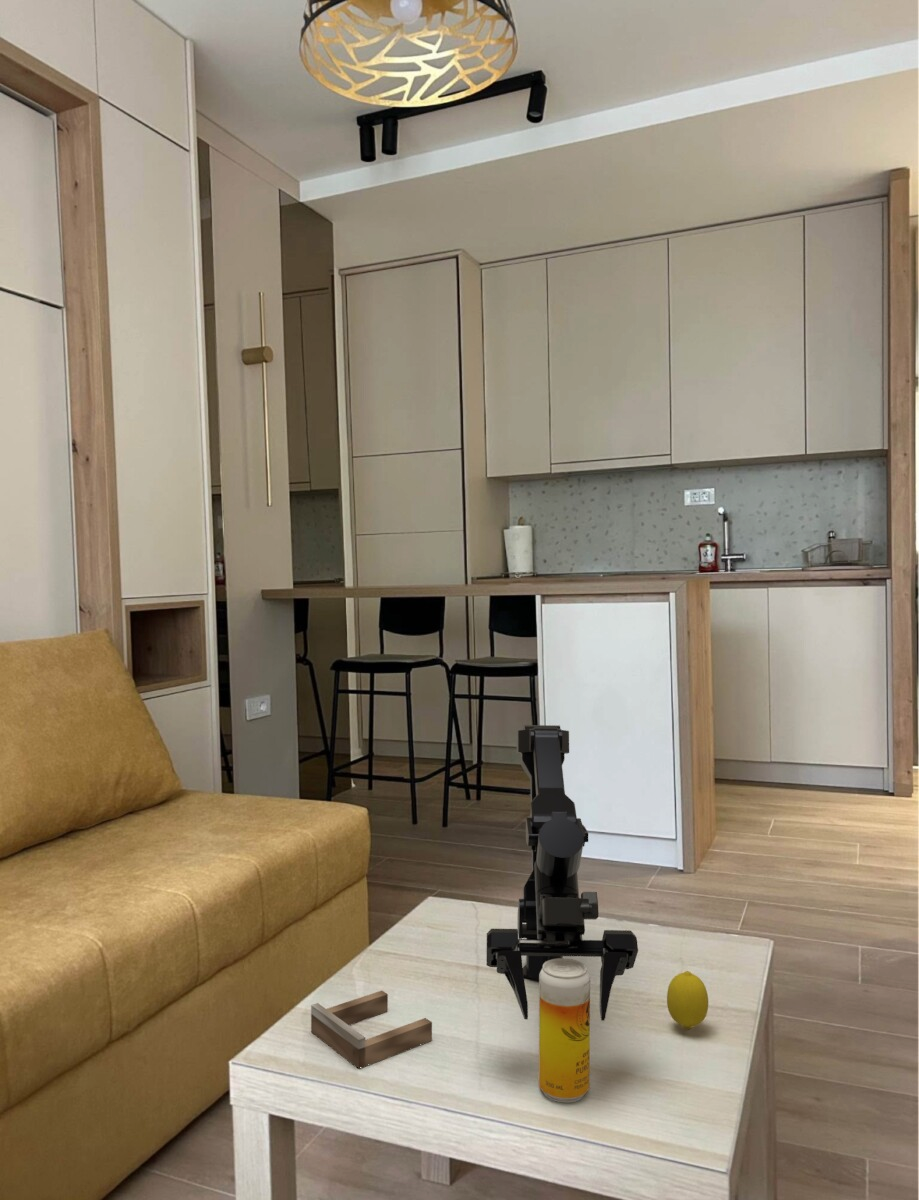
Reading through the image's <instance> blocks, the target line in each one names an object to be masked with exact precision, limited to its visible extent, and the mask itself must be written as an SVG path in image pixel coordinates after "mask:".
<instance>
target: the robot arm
mask: <svg viewBox="0 0 919 1200" xmlns="http://www.w3.org/2000/svg"><path fill="white" fill-rule="evenodd" d="M516 753H517V754H520V765H521V767H522V769H523V771H524V772H525V774H526V775H527V777H528V778H529V779H528V780H529V781H530V814H529V815H530V817H525V844H526V845H527V847H530V850H531V873H530V875H529V876H528V878H527V881H526V882H525V884H524V886H523V888H522V898H518V906H517V928H490V929H489V931H488V932H487V933H486V966H487V967H489V968H496V973H497V974H501V975H502V974H503V975H505V978H506V979H507V981H508V983H509V985H510V987H511V989H512V991H513V992H514V995H515V998H516V1000H517V1003H518V1006H519V1009H520V1011H521V1013H522V1014H521V1015H522V1017H523V1020H528V1019H529V1013H528V1012H529V1009H528V1008H529V1006H528V1005H529V1004H528V1003H529V1002H528V997H527V996H528V995H527V989H526V983H525V978H526V979H531V980H535V981H539V974H540V972H541V970H542V968H543V964H544V963H545V962H546V961H548V960H552V959H558V958H564V957H587V958H588V957H590V958H591V957H593V958H594V957H597V958H598V957H599V958H600V962H601V966H600V970H599V971H600V972H599V1016H600V1021H601V1022H602V1021H603V1022H604V1021H605V1020H606V1015H607V1010H608V1005H609V1000H610V995H611V992H612V991H611V990H612V987H613V984H614V981H615V978H616V976H623V975H625V974H624V973H625V970H630V969H632V968H634V966H635V962H636V959H637V956H638V953H639V948H638V945H639V944H638V940H637V938H638V937H637V936H636V934H635V933H634V932H633V931H632V930H629V929H628V930H627V929H625V930H624V929H621V930H620V929H618V930H617V929H614V930H611V929H604V930H603V934H602V939H601V940H599V939H597V940H594V939H583V935H585V932H586V928H585V927H586V925H585V920H590V921H591V920H593V921H594V920H597V919H598V918H599V900H598V899H599V898H598V893H597V891H583V892H582V893H580V892H579V890H580V889H579V879H578V872H579V869H580V865H581V860H582V853H583V849H584V847H585V846H586V845H585V844H586V843H589V832H588V830H587V828H586V826H584V824H583V822H582V819H581V818H580V817H577V811H576V804H575V802H574V801H573V800H572V799H571V798H570V797H569V796H568V795H567V794H566V791H565V782H564V771H563V764H564V761H565V754H570V731H569V730H567V729H566V730H564V729H561V725H560V724H559V725H556V724H555V725H549V724H548V725H545V724H544V725H543V724H542V725H541V724H540V725H539V724H536V725H535V724H533V725H532V724H531V725H529V724H528V725H527V724H525V725H523V729H519V730H517V731H516ZM523 956H525V960H526V961H525V965H524V966H523V959H522V957H523Z"/></svg>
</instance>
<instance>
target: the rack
mask: <svg viewBox="0 0 919 1200" xmlns="http://www.w3.org/2000/svg"><path fill="white" fill-rule="evenodd" d="M388 997H389V994H388V993H386V992H385V991H384V990H379V991H376V992H373V993H370V994H367V995H364V996H361V997H358V998H355V999H352V1000H349V1001H347V1002H343V1003H340V1004H337V1005H334V1006H331V1007H328V1008H326V1007H324V1006H323V1005H321V1004H320V1003H319V1002H317V1003H314V1004H311V1005H310V1006H311V1007H310V1008H311V1009H310V1022H311V1023H310V1032H311V1033H312V1034H313V1035H314V1036H316V1037H317V1039H320V1040H321V1041H322V1042H323V1043H325V1044H326V1045H327V1046H329V1047H330V1048H331V1049H332V1050H333V1051H335V1052H336V1053H337V1054H339V1055H340V1056H341V1057H343V1058H344V1059H345V1060H346V1059H347V1062H349V1061H350V1062H351V1063H353V1064H354V1065H355V1066H356V1068H357V1067H358V1068H360V1067H363V1068H365V1067H367V1066H366V1065H368V1064H371V1065H373V1064H375V1062H376V1063H379V1062H380V1060H381V1061H383V1060H386V1059H389V1058H391V1057H393V1056H396V1055H398V1053H399V1054H401V1053H405V1052H406V1050H407V1051H410V1050H411V1049H410V1048H412V1049H414V1048H416V1047H415V1046H417V1047H419V1046H421V1045H420V1044H422V1045H424V1044H423V1043H425V1044H427V1043H429V1041H430V1042H431V1041H433V1022H432V1021H431V1020H429V1019H428V1018H426V1017H424V1018H422V1019H421V1018H420V1019H418V1020H416V1021H414V1022H413V1021H412V1022H411V1023H407V1024H405V1025H402V1026H400V1027H397V1028H394V1029H391V1030H389V1031H386V1032H383V1033H380V1034H378V1035H375V1036H372V1037H370V1038H366V1036H365V1035H363V1034H362V1033H360V1032H359V1031H358V1030H356V1029H355V1028H353V1027H351V1025H354V1024H356V1023H359V1022H362V1021H365V1020H368V1019H370V1018H374V1017H375V1016H376V1017H377V1016H379V1015H382V1014H385V1013H387V1011H388V1009H389V1007H388V1006H389V1003H388V1002H389V1001H388V999H389V998H388ZM384 1012H385V1013H384ZM381 1013H382V1014H381ZM418 1045H419V1046H418ZM413 1047H414V1048H413ZM388 1057H389V1058H388ZM350 1062H349V1063H350ZM351 1063H350V1064H351ZM372 1063H373V1064H372ZM353 1064H352V1065H353ZM354 1065H353V1066H354ZM355 1066H354V1067H355ZM364 1066H365V1067H364ZM368 1066H369V1065H368ZM358 1068H357V1069H358ZM360 1069H361V1068H360Z"/></svg>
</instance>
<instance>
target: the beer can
mask: <svg viewBox="0 0 919 1200" xmlns="http://www.w3.org/2000/svg"><path fill="white" fill-rule="evenodd" d="M590 1013H591V976H590V974H589V972H588V969H587V966H586V965H585V963H583V962H581V961H579V960H576V959H573V958H566V957H565V958H564V957H563V958H558V959H552V960H548V961H546V962H545V963H544V964H543V968H542V970H541V972H540V974H539V980H538V1085H539V1088H540V1089H541V1090H542V1092H543V1094H544V1095H545V1097H547V1098H548V1099H550V1100H551V1101H555V1102H559V1103H563V1104H564V1103H567V1104H568V1103H569V1104H570V1103H574V1102H578V1101H580V1100H581V1099H583V1098H584V1096H585V1094H586V1093H588V1091H589V1089H590V1059H591V1058H590V1053H591V1052H590V1051H591V1050H590V1049H591V1048H590V1047H591V1046H590V1045H591V1044H590V1039H591V1037H590V1034H591V1033H590V1032H591V1028H590V1027H591V1026H590V1025H591V1023H590V1022H591V1019H590V1017H591V1014H590Z"/></svg>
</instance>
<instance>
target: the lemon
mask: <svg viewBox="0 0 919 1200" xmlns="http://www.w3.org/2000/svg"><path fill="white" fill-rule="evenodd" d="M666 1006H667V1010H668V1012H669V1014H670V1015H669V1016H670V1017H671V1018H672V1020H673V1021H675V1023H676V1024H678V1025H680V1026H682V1027H683V1029H685V1030H686V1031H689V1030H691V1029H692V1028H693V1027H697V1026H699V1025H700V1024H702V1022H703V1021H704V1020H705V1019H706V1017H707V1014H708V1009H709V995H708V992H707V987H706V985H705V982H703V980H701V978H700V977H699V976H698V975H696V974H694V973H691V971H689V970H686V971H684V972H681V973H678V974H677V975H675V976H674V977H673V978H672V979H671V981H670V983H669V985H668V987H667V993H666Z"/></svg>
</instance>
